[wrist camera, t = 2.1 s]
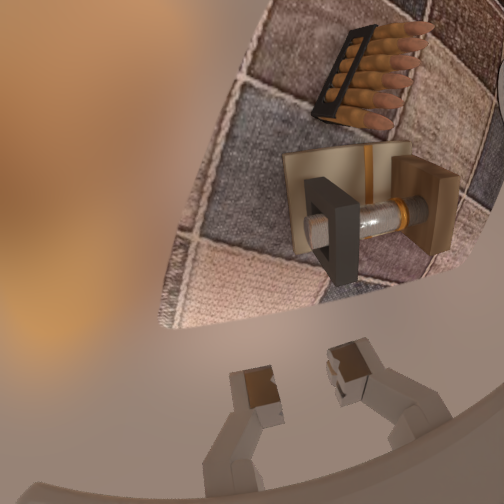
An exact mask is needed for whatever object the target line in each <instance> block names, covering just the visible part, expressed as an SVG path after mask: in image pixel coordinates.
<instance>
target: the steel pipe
mask: <svg viewBox="0 0 504 504" xmlns="http://www.w3.org/2000/svg"><path fill="white" fill-rule="evenodd" d="M428 215H429V210H428V205H427V203H426V201H425V199H424V198H423V197H422V196H420V195H416V196H410V197H405V198H399V197H396V198H390V199H388V200H387V201H383V202H378V203H372V204H367V205H362V206H360V238H363V237H367V236H372V235H376V234H380V233H384V232H389V231H393V230H394V231H400V230H404V229H406V228H407V227H410V226H414V225H418V224H422V223H425V222H426V221H427V219H428ZM304 231H305V236H306V240H307V242H308V245H309V247H310V248H311V249H316V248H320V247H325V246H329V235H328V218H327V217H326V216H325V215H324V214H323V213H321V214H316V215H311V216H306V217H305V218H304Z"/></svg>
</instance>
